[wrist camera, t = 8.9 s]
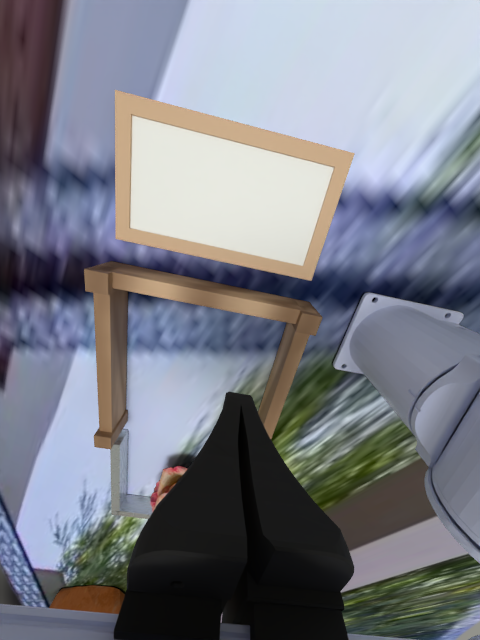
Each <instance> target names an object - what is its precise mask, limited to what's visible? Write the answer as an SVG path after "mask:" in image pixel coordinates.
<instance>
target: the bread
mask: <svg viewBox="0 0 480 640" xmlns="http://www.w3.org/2000/svg"><path fill="white" fill-rule="evenodd" d="M124 596H125V594H124V593H122V592H121V591H120V590H119V589H116V588H114V587H106V586H95V585H90V586H82V587H70V588H63V589H61V590H60V591H59V593H58V594H57V595H56V596H55V598H54V600H53V602H52V604H51V606H50V608H52V609H64V610H76V611H87V612H99V613H111V614H119V612H120V609H121V606H122V603H123V599H124Z"/></svg>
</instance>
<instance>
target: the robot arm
mask: <svg viewBox="0 0 480 640" xmlns="http://www.w3.org/2000/svg"><path fill="white" fill-rule="evenodd" d="M373 298H375V301H373V302H372V299H373ZM446 314H447V315H446ZM445 315H446V316H445ZM462 319H463V313H460V312H458V311H453V310H449V309H444V308H440V307H435V306H430V305H426V304H421V303H416V302H412V301H407V300H402V299H398V298H393V297H388V296H384V295H379V294H374V293H365V294H364V295H363V296H362V298H361V301H360V303H359V305H358V307H357V310H356V312H355V314H354V316H353V319H352V321H351V323H350V326H349V328H348V330H347V332H346V335H345V337H344V339H343V341H342V344H341V346H340V348H339V351H338V353H337V355H336V357H335V360H334V362H333V366H334V368H335V369H338V370H343V371H349V372H354V373H360V374H364V375H365V376H366V377H367V378H368V380H369V381H370V382H371V383H372V385H373V386H374V387H375V388H376V389H377V391H378V392H379V393H380V394H381V395H382V397H383V398H384V399H385V400H386V402H387V403H388V404H389V405H390V406H391V408H392V409H393V410H394V411H395V413H396V414H397V415H398V416H399V417H400V419H401V420H402V421H403V422H404V423H405V425H406V426H407V427H408V428H409V430H410V431H411V432H412V433H413V434H414V436H415V437H416V439H417V446H416V449H415V450H416V451H417V452H418V454H419V455H420V456H421V458H422V459H423V460H424V462H425V463H426V464H427V465H428V467H429V469H428V470H427V472H426V475H425V489H426V493H427V496H428V499H429V501H430V503H431V505H432V507H433V509H434V511H435V512H436V514H437V516H438V517H439V519H440V520H441V522H442V523H443V524H444V526H445V527H446V529H447V530H448V531H449V532H450V533H451V535H452V536H453V537H454V538H455V539H456V541H457V542H458V543H459V544H460V545H461V546H462V547H463V548H464V549H465V550H466V551H467V552H468V553H469V554H470V555H471V556H472V557H473V558H474V559H475V560H477V561H478V562H479V563H480V334H478V333H476V332H474V331H472V330H470V329H468V328H465V327H463V326H461V325H459V324H460V322H461V321H462ZM343 364H345V365H344V366H342V365H343ZM353 573H354V565H353V562H352V559H351V556H350V553H349V550H348V547H347V545H346V542H345V540H344V537H343V535H342V533H341V530H340V529H339V528H338V527H337V525H336V524H335V523H334V522H333V521H332V520H331V519H330V518H329V517H328V516H327V515H326V514H325V513H324V512H323V511H322V510H321V509H320V508H319V506H318V505H317V504H316V503H315V502H314V501H313V500H312V498H311V497H310V496H309V495H308V494H307V492H306V491H305V490H304V489H303V487H302V486H301V485H300V483H299V482H298V481H297V479H296V478H295V477H294V476H293V474H292V473H291V471H290V470H289V468H288V467H287V466H286V464H285V463H284V461H283V459H282V458H281V456H280V455H279V453H278V451H277V450H276V448H275V446H274V444H273V443H272V441H271V439H270V437H269V435H268V433H267V431H266V429H265V427H264V425H263V423H262V421H261V419H260V416H259V414H258V412H257V409H256V407H255V404H254V401H253V398H252V397H251V395H245V394H239V393H233V392H228V393H226V397H225V401H224V405H223V409H222V412H221V414H220V416H219V419H218V421H217V423H216V425H215V427H214V429H213V431H212V433H211V434H210V436H209V438H208V440H207V441H206V443H205V445H204V446H203V448H202V449H201V451H200V452H199V454H198V455H197V457H196V458H195V460H194V461H193V462H192V464H191V465H190V467H189V468H188V469H187V470H186V472H185V473H184V474H183V475H182V477H181V478H180V479H179V481H178V482H177V483H176V484H175V485H174V487H173V488H172V489H171V490H170V491H169V492H168V493H167V494H166V496H165V497H164V498H163V499H162V500H161V501H160V502H159V503H158V505H157V506H156V508H155V510H154V511H153V513H152V514H151V516H150V518H149V519H148V521H147V523H146V524H145V526H144V528H143V530H142V532H141V533H140V535H139V537H138V540H137V542H136V544H135V547H134V550H133V553H132V556H131V559H130V563H129V566H128V570H127V590H126V593H125V596H124V599H123V603H122V606H121V609H120V612H119V614H111V613H99V612H87V611H76V610H64V609H52V608H41V607H29V606H17V605H5V604H0V640H415V639H403V638H391V637H379V636H368V635H356V634H347V631H346V627H345V623H344V619H343V616H342V612H341V611H343V610H344V603H343V600H342V596H341V592H340V591H341V590H342V589H343V587H344V586H345V585H346V584H347V583H348V582H349V580H350V579H351V577H352V576H353ZM222 612H223V615H222V623H220V621H221V614H222ZM469 640H480V635H477V636H474V637H472V638H470V639H469Z"/></svg>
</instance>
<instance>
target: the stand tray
mask: <svg viewBox="0 0 480 640" xmlns="http://www.w3.org/2000/svg"><path fill="white" fill-rule="evenodd" d="M127 458H128V430H125V429H122V431H121V433H120V434H119V436H118V438H117V440H116V441H115V443H114V445H113V447H112V448H111V499H112V515H120V516H128V517H137V518H145V519H149V518H150V516H151V514H152V513H153V511H152V506H151V504H150V497H144V496H136V495H129V494H127Z"/></svg>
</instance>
